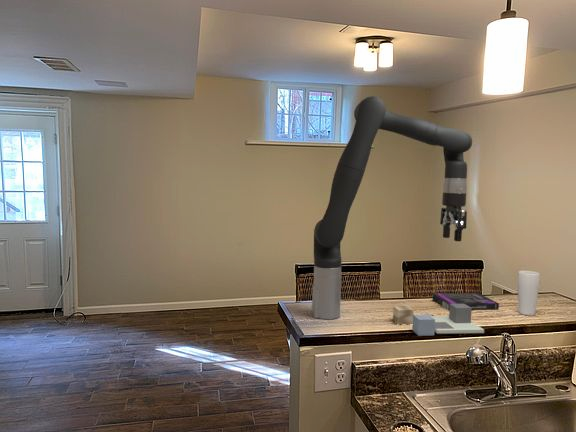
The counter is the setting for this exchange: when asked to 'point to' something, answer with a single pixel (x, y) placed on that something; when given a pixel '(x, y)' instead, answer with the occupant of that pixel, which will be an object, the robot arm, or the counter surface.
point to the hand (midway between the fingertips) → (451, 239)
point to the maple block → (403, 315)
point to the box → (465, 300)
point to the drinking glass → (528, 292)
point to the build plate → (457, 326)
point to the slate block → (423, 325)
